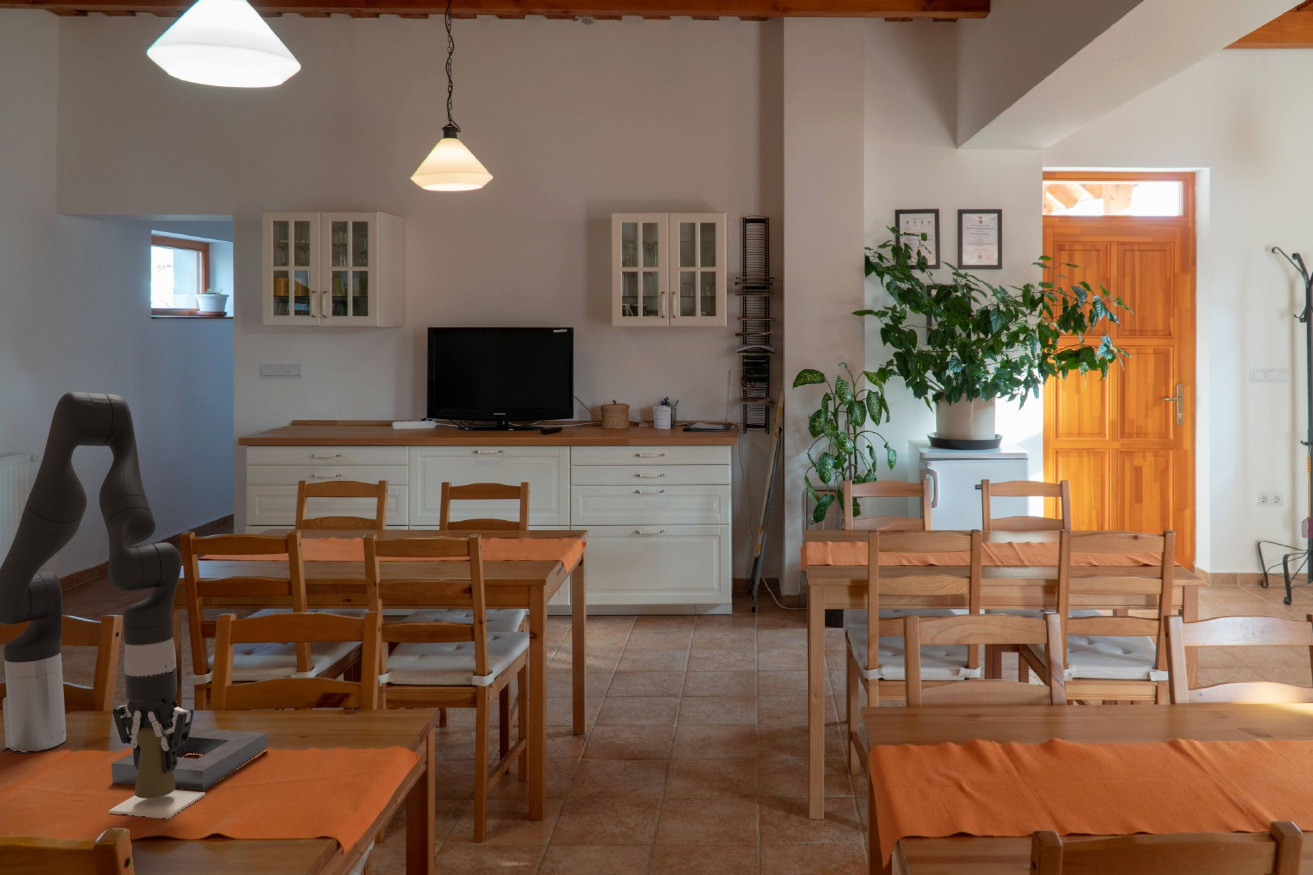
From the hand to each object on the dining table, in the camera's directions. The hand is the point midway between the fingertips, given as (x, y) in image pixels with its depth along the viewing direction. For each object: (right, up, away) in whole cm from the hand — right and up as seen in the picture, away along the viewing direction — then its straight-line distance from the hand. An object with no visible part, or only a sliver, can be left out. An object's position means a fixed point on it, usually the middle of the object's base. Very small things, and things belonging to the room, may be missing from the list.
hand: (156, 769), depth 168 cm
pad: (0, -6, 0) cm, 6 cm away
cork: (0, -4, 0) cm, 4 cm away
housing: (-1, -5, +16) cm, 17 cm away
